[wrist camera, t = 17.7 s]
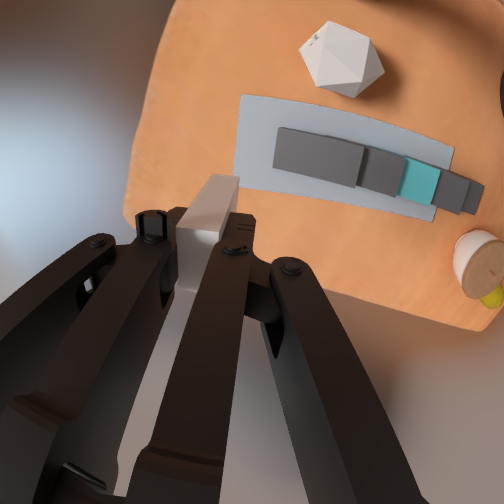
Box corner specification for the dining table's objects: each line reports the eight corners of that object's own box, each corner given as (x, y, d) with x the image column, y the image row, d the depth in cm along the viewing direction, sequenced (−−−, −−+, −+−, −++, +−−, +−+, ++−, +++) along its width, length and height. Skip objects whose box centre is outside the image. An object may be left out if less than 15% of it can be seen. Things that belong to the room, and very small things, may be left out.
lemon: (468, 292, 42) (486, 319, 36) (474, 270, 40) (495, 296, 33) (486, 287, 42) (504, 312, 35) (493, 265, 39) (513, 290, 32)
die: (356, 30, 24) (321, -2, 17) (404, 76, 23) (383, 48, 16) (315, 67, 30) (271, 48, 23) (356, 114, 29) (321, 102, 22)
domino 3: (404, 154, 31) (466, 179, 28) (395, 189, 34) (455, 211, 31) (406, 156, 30) (469, 181, 27) (396, 192, 32) (458, 215, 30)
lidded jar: (493, 222, 34) (524, 250, 26) (474, 272, 40) (498, 304, 32) (454, 216, 35) (486, 246, 27) (435, 272, 41) (458, 307, 33)
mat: (452, 147, 30) (454, 148, 29) (430, 221, 36) (431, 222, 35) (241, 94, 29) (241, 94, 29) (232, 185, 36) (231, 186, 35)
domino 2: (326, 134, 31) (403, 156, 28) (318, 172, 34) (393, 194, 31) (324, 135, 30) (405, 159, 27) (317, 175, 32) (395, 197, 30)
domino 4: (434, 164, 31) (478, 182, 31) (424, 197, 34) (469, 210, 34) (439, 168, 30) (484, 186, 30) (429, 201, 32) (474, 215, 32)
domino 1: (281, 126, 31) (363, 145, 28) (275, 165, 34) (354, 185, 31) (278, 127, 30) (364, 147, 27) (272, 167, 32) (354, 188, 30)
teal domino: (367, 144, 31) (437, 168, 29) (358, 180, 34) (426, 202, 31) (367, 145, 30) (440, 170, 27) (358, 183, 32) (429, 206, 30)
